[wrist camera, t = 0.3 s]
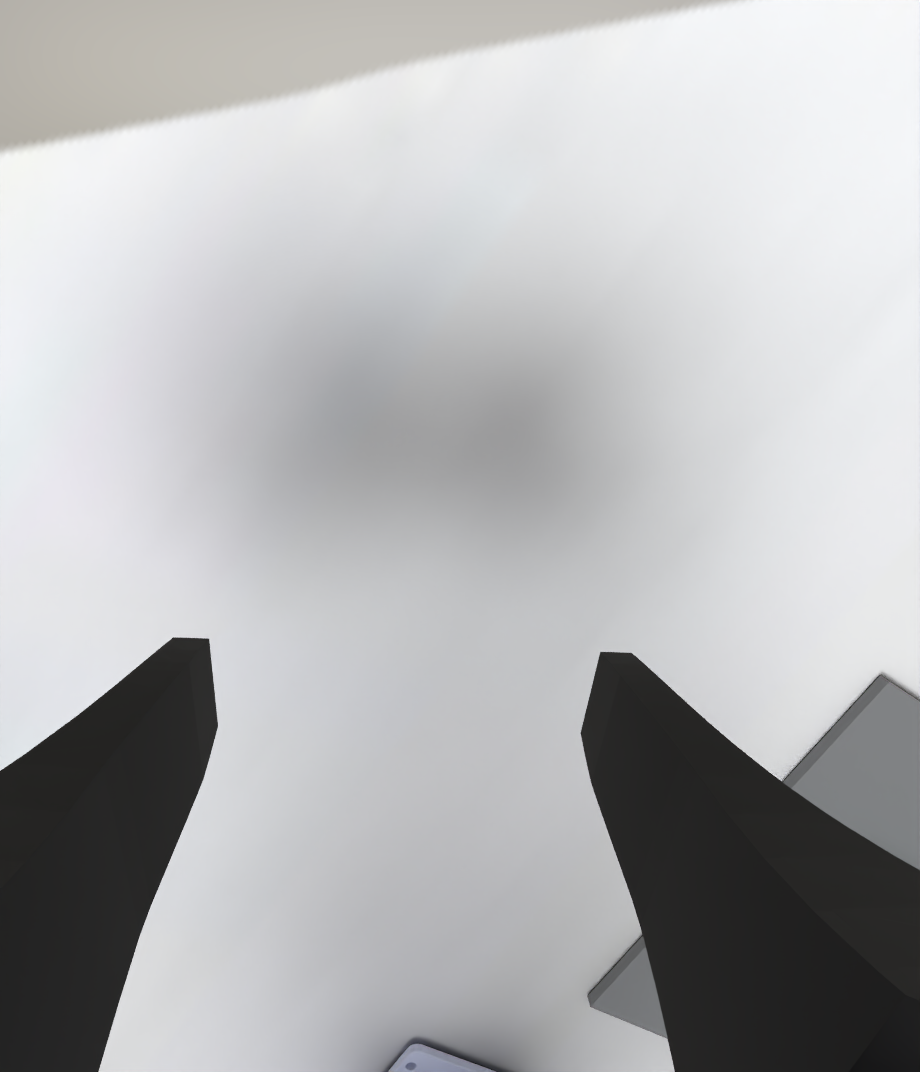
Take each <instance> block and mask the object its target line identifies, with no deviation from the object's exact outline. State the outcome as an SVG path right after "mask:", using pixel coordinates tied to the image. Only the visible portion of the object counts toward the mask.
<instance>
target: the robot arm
mask: <svg viewBox="0 0 920 1072" xmlns="http://www.w3.org/2000/svg"><path fill="white" fill-rule="evenodd" d="M217 728H218V722H217V712H216V703H215V693H214V683H213V673H212V664H211V654H210V644H209V639H202V638H172V639H171V640H170V641H168V642H167V643H166V644H165V645H163V646H162V647H161V648H160V649H159V650H157V651H156V652H155V653H154V654H153V655H151V656H150V657H149V658H148V659H146V660H145V661H144V662H143V663H142V664H140V665H139V666H138V667H137V668H136V669H134V670H133V671H132V672H131V673H130V674H128V675H127V676H126V677H125V678H124V679H122V680H121V681H120V682H119V683H118V684H116V685H115V686H114V687H113V688H112V689H110V690H109V691H108V692H107V693H105V694H104V695H103V696H102V697H100V698H99V699H98V700H96V701H95V702H94V703H93V704H91V705H90V706H89V707H88V708H86V709H85V710H84V711H83V712H81V713H80V714H79V715H78V716H76V717H75V718H74V719H72V720H71V721H69V722H68V723H67V724H65V725H64V726H63V727H61V728H60V729H59V730H57V731H56V732H55V733H53V734H52V735H50V736H49V737H48V738H46V739H45V740H44V741H42V742H41V743H40V744H38V745H37V746H35V747H34V748H33V749H31V750H30V751H29V752H27V753H26V754H24V755H23V756H22V757H20V758H19V759H17V760H16V761H14V762H13V763H11V764H10V765H8V766H7V767H5V768H4V769H2V770H1V771H0V1072H98V1071H99V1068H100V1064H101V1061H102V1057H103V1054H104V1051H105V1047H106V1044H107V1040H108V1037H109V1034H110V1030H111V1027H112V1024H113V1020H114V1017H115V1013H116V1010H117V1007H118V1003H119V1000H120V997H121V994H122V990H123V987H124V984H125V981H126V978H127V975H128V971H129V968H130V965H131V962H132V959H133V955H134V952H135V949H136V946H137V943H138V939H139V936H140V933H141V931H142V928H143V925H144V923H145V920H146V917H147V915H148V912H149V909H150V907H151V904H152V902H153V899H154V897H155V894H156V892H157V890H158V887H159V885H160V883H161V880H162V878H163V875H164V873H165V871H166V868H167V866H168V863H169V861H170V859H171V856H172V854H173V851H174V849H175V847H176V844H177V842H178V840H179V837H180V835H181V832H182V830H183V828H184V825H185V823H186V820H187V818H188V816H189V813H190V811H191V808H192V806H193V803H194V801H195V798H196V796H197V794H198V791H199V789H200V786H201V784H202V781H203V778H204V775H205V771H206V768H207V765H208V761H209V758H210V754H211V750H212V746H213V743H214V739H215V735H216V731H217ZM581 737H582V742H583V747H584V752H585V757H586V762H587V766H588V770H589V775H590V779H591V783H592V786H593V789H594V792H595V795H596V798H597V801H598V804H599V807H600V810H601V813H602V816H603V818H604V821H605V824H606V827H607V830H608V833H609V836H610V838H611V841H612V844H613V847H614V850H615V852H616V855H617V858H618V861H619V864H620V867H621V869H622V872H623V875H624V878H625V881H626V883H627V886H628V889H629V892H630V895H631V898H632V900H633V904H634V907H635V910H636V913H637V917H638V920H639V923H640V926H641V930H642V934H643V938H644V942H645V946H646V950H647V954H648V958H649V962H650V966H651V970H652V974H653V978H654V982H655V986H656V990H657V994H658V999H659V1003H660V1007H661V1012H662V1016H663V1020H664V1025H665V1029H666V1033H667V1038H668V1042H669V1046H670V1051H671V1055H672V1060H673V1065H674V1069H675V1072H920V870H919V869H917V868H915V867H913V866H912V865H910V864H908V863H906V862H905V861H903V860H901V859H899V858H898V857H896V856H894V855H893V854H891V853H889V852H888V851H886V850H884V849H883V848H881V847H879V846H878V845H876V844H874V843H873V842H871V841H870V840H868V839H866V838H865V837H863V836H861V835H860V834H858V833H857V832H855V831H853V830H852V829H850V828H848V827H847V826H845V825H844V824H842V823H841V822H839V821H838V820H836V819H835V818H833V817H832V816H830V815H828V814H827V813H825V812H824V811H822V810H821V809H820V808H818V807H817V806H815V805H814V804H812V803H811V802H810V801H808V800H807V799H805V798H804V797H803V796H801V795H800V794H798V793H797V792H795V791H794V790H793V789H791V788H790V787H788V786H787V785H785V784H784V783H783V782H781V781H780V780H779V779H777V778H776V777H775V776H773V775H772V774H771V773H769V772H768V771H767V770H765V769H764V768H763V767H762V766H760V765H759V764H758V763H757V762H755V761H754V760H753V759H752V758H750V757H749V756H748V755H747V754H746V753H744V752H743V751H742V750H741V749H739V748H738V747H737V746H736V745H734V744H733V743H732V742H731V741H730V740H728V739H727V738H726V737H725V736H724V735H722V734H721V733H720V732H719V731H718V730H717V729H715V728H714V727H713V726H712V725H711V724H710V723H709V722H707V721H706V720H705V719H704V718H703V717H702V716H701V715H700V714H698V713H697V712H696V711H695V710H694V709H693V708H692V707H691V706H690V705H688V704H687V703H686V702H685V701H684V700H683V699H682V698H681V697H680V696H679V695H677V694H676V693H675V692H674V691H673V690H672V689H671V688H670V687H669V686H668V685H667V684H666V683H664V682H663V681H662V680H661V679H660V678H659V677H658V676H657V675H656V674H655V673H654V672H652V671H651V670H650V669H649V668H648V667H647V666H646V665H645V664H644V663H643V662H641V661H640V660H639V659H638V658H637V657H636V656H634V655H633V654H632V653H617V652H600V656H599V660H598V664H597V668H596V672H595V676H594V681H593V685H592V689H591V693H590V697H589V701H588V705H587V709H586V713H585V718H584V722H583V726H582V730H581ZM388 1072H496V1071H493V1070H490V1069H488V1068H485V1067H482V1066H479V1065H477V1064H474V1063H471V1062H469V1061H466V1060H463V1059H460V1058H458V1057H455V1056H452V1055H449V1054H447V1053H444V1052H441V1051H438V1050H436V1049H433V1048H430V1047H428V1046H425V1045H422V1044H413V1045H411V1046H409V1047H408V1048H407V1049H406V1050H405V1052H404V1053H403V1054H402V1055H401V1056H400V1058H399V1059H398V1060H397V1061H396V1062H395V1064H394V1065H393V1066H392V1067H391V1068H390V1070H389V1071H388Z"/></svg>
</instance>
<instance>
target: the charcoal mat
mask: <svg viewBox="0 0 920 1072" xmlns="http://www.w3.org/2000/svg"><path fill="white" fill-rule="evenodd" d="M783 783H784V784H785V785H787V786H788V787H790V788H791V789H793V790H794V791H795V792H797V793H798V794H800V795H801V796H803V797H804V798H805V799H807V800H808V801H810V802H811V803H812V804H814V805H815V806H817V807H818V808H820V809H821V810H822V811H824V812H825V813H827V814H828V815H830V816H832V817H833V818H835V819H836V820H838V821H839V822H841V823H842V824H844V825H845V826H847V827H848V828H850V829H852V830H853V831H855V832H857V833H858V834H860V835H861V836H863V837H865V838H866V839H868V840H870V841H871V842H873V843H874V844H876V845H878V846H879V847H881V848H883V849H884V850H886V851H888V852H889V853H891V854H893V855H894V856H896V857H898V858H899V859H901V860H903V861H905V862H906V863H908V864H910V865H912V866H913V867H915V868H917V869H919V870H920V701H919V700H917V699H916V698H914V697H913V696H911V695H910V694H908V693H907V692H905V691H904V690H902V689H901V688H899V687H897V686H896V685H894V684H893V683H891V682H890V681H888V680H887V679H885V678H884V677H882V676H881V675H880V676H879V677H878V678H877V679H876V680H875V682H874V683H873V684H872V685H871V686H870V687H869V688H868V689H867V690H866V691H865V692H864V694H863V695H862V696H861V697H860V698H859V699H858V700H857V701H856V702H855V703H854V705H853V706H852V707H851V708H850V709H849V710H848V711H847V712H846V713H845V714H844V716H843V717H842V718H841V719H840V720H839V721H838V722H837V723H836V724H835V725H834V726H833V728H832V729H831V730H830V731H829V732H828V733H827V734H826V735H825V736H824V737H823V739H822V740H821V741H820V742H819V743H818V744H817V745H816V746H815V747H814V748H813V749H812V751H811V752H810V753H809V754H808V755H807V756H806V757H805V758H804V759H803V760H802V762H801V763H800V764H799V765H798V766H797V767H796V768H795V769H794V770H793V771H792V772H791V774H790V775H789V776H788V777H787V778H786V779H785V780H784V781H783ZM588 999H589V1003H590V1007H592V1008H595V1009H597V1010H599V1011H602V1012H604V1013H607V1014H609V1015H612V1016H614V1017H616V1018H619V1019H621V1020H624V1021H626V1022H629V1023H631V1024H633V1025H636V1026H638V1027H641V1028H643V1029H646V1030H648V1031H650V1032H653V1033H655V1034H658V1035H660V1036H663V1037H665V1038H667V1033H666V1029H665V1025H664V1020H663V1016H662V1012H661V1007H660V1003H659V999H658V994H657V990H656V986H655V982H654V978H653V974H652V970H651V966H650V962H649V958H648V954H647V950H646V946H645V942H644V938H643V936H642V937H641V938H640V939H639V940H638V941H637V942H636V943H635V945H634V946H633V947H632V948H631V949H630V950H629V951H628V952H627V953H626V954H625V955H624V957H623V958H622V959H621V960H620V961H619V962H618V963H617V964H616V965H615V966H614V968H613V969H612V970H611V971H610V972H609V973H608V974H607V975H606V976H605V977H604V978H603V980H602V981H601V982H600V983H599V984H598V985H597V986H596V987H595V988H594V989H593V991H592V992H591V993H590V994H589V995H588ZM667 1039H668V1038H667Z"/></svg>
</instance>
